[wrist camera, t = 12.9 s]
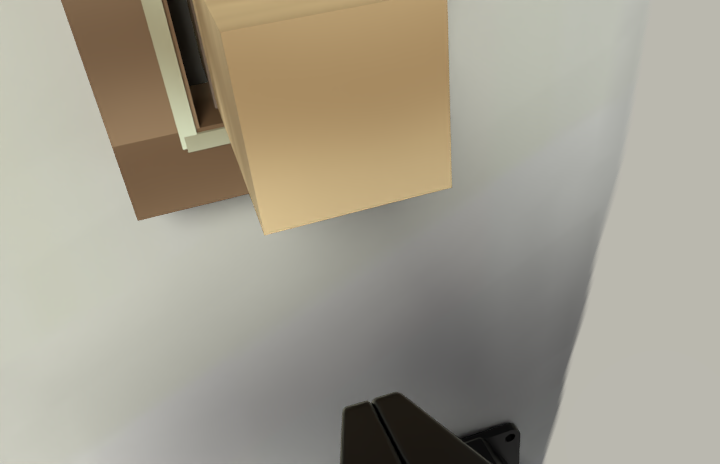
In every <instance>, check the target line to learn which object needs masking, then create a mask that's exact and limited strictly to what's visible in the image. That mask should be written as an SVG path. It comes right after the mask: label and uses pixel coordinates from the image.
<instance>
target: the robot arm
mask: <svg viewBox="0 0 720 464" xmlns="http://www.w3.org/2000/svg"><path fill="white" fill-rule="evenodd" d="M519 448H520V432H519V430H518V429H517V427H516V426H515V425H514V424H513V423H508V424H504V425H501V426H498V427H495V428H493V429H490V430H487V431H484V432H481V433H478V434H475V435H472V436H469V437H466V438H463V439H459V438H458V437H457V436H455V435H454V434H453V433H452V432H450V431H449V430H448V429H446V428H445V427H444V426H443V425H441V424H440V423H439V422H437V421H436V420H435V419H434V418H432V417H431V416H430V415H428V414H427V413H426V412H425V411H423V410H422V409H421V408H419V407H418V406H417V405H416V404H414V403H413V402H412V401H410V400H409V399H408V398H407V397H405V396H404V395H403V394H401V393H399V392H393V393H390V394H387V395H383V396H380V397H377V398H375V399H373V400H372V403H370V402H369V401H364V402H360V403H357V404H354V405H350V406H347V407H345V408H344V409H343V412H342V429H341V452H340V464H519Z"/></svg>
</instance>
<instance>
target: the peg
mask: <svg viewBox="0 0 720 464" xmlns="http://www.w3.org/2000/svg"><path fill="white" fill-rule="evenodd" d="M187 4H188V9H189V13H190V17H191V21H192V25H193V29H194V34H195V38H196V42H197V46H198V50H199V54H200V59H201V63H202V66H203V69H204V72H205V74H206V77H207V80H208V82H209V86H210V91H211V95H212V99H213V103H214V106H215V109H216V108H218V110H219V112H220V115H221V118H222V121H223V123H224V126H225V129H226V131H227V134H228V137H229V140H230V142H231V145H232V148H233V151H234V153H235V156H236V159H237V161H238V164H239V167H240V170H241V172H242V175H243V178H244V181H245V183H246V186H247V189H248V191H249V194H250V197H251V200H252V202H253V205H254V208H255V211H256V213H257V216H258V219H259V221H260V224H261V227H262V230H263V232H264V235H268V234H272V233H275V232H279V231H283V230H287V229H291V228H295V227H299V226H303V225H307V224H311V223H315V222H319V221H322V220H326V219H330V218H334V217H338V216H342V215H346V214H350V213H354V212H358V211H362V210H366V209H369V208H373V207H377V206H381V205H385V204H389V203H393V202H397V201H401V200H405V199H409V198H412V197H416V196H420V195H424V194H428V193H432V192H436V191H440V190H444V189H448V188H452V176H451V135H450V94H449V53H448V12H447V0H187Z"/></svg>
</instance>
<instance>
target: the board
mask: <svg viewBox="0 0 720 464" xmlns="http://www.w3.org/2000/svg"><path fill="white" fill-rule="evenodd" d="M61 2H62V4H63V7H64V10H65V13H66V16H67V19H68V22H69V25H70V27H71V30H72V33H73V36H74V39H75V42H76V45H77V47H78V50H79V53H80V56H81V59H82V62H83V65H84V68H85V70H86V73H87V76H88V79H89V82H90V85H91V88H92V91H93V93H94V96H95V99H96V102H97V105H98V108H99V111H100V113H101V116H102V119H103V122H104V125H105V128H106V131H107V134H108V136H109V139H110V142H111V145H112V148H113V151H114V154H115V157H116V159H117V162H118V165H119V168H120V171H121V174H122V177H123V179H124V182H125V185H126V188H127V191H128V194H129V197H130V200H131V202H132V205H133V208H134V211H135V214H136V217H137V220H138V221H139V220H143V219H147V218H151V217H155V216H159V215H163V214H168V213H172V212H176V211H180V210H184V209H188V208H192V207H196V206H200V205H204V204H208V203H213V202H217V201H221V200H225V199H229V198H233V197H237V196H241V195H245V194H249V191H248V189H247V186H246V183H245V181H244V178H243V175H242V172H241V170H240V167H239V164H238V161H237V159H236V156H235V153H234V151H233V148H232V145H231V142H230V140H229V137H228V134H227V131H226V129H225V126H224V123H223V121H222V118H221V115H220V112H219V110H218V108H216V109H215V106H214V103H213V99H212V95H211V91H210V86H209V82H206V83H201V84H197V85H192V86H189V85H188V81H187V77H186V73H185V69H184V65H183V62H182V58H181V54H180V50H179V46H178V42H177V39H176V35H175V31H174V27H173V23H172V19H171V16H170V12H169V8H168V4H167V0H61Z"/></svg>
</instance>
